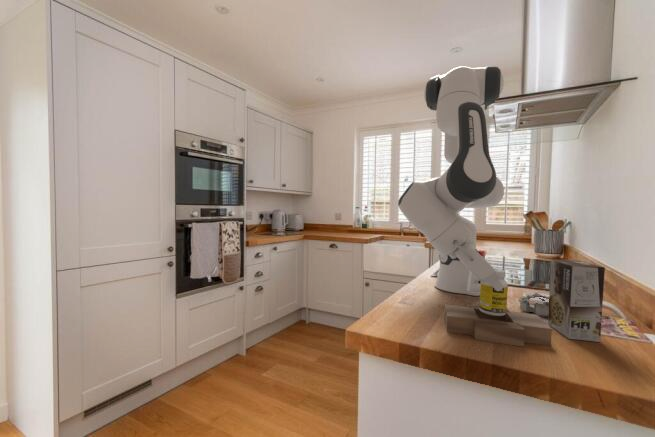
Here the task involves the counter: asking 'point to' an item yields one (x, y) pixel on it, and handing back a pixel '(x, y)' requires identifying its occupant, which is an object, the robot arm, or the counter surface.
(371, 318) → the counter surface
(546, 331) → the walnut cross stand
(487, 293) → the supplement bottle
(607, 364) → the counter surface
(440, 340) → the counter surface
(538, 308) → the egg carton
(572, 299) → the coffee box
